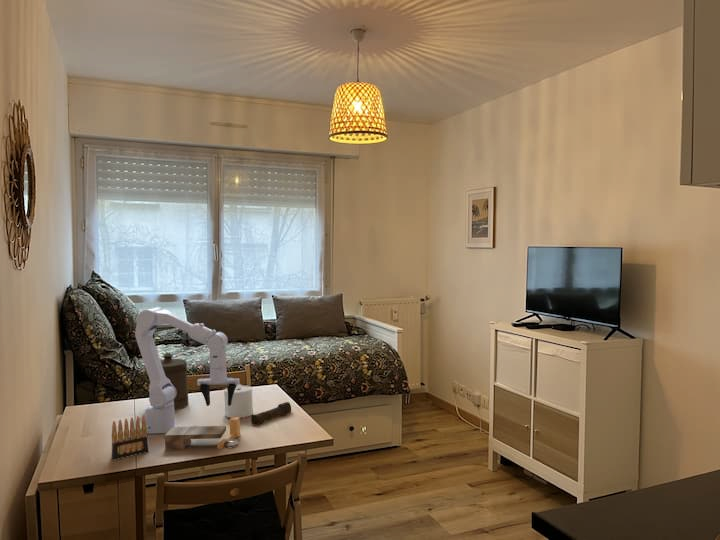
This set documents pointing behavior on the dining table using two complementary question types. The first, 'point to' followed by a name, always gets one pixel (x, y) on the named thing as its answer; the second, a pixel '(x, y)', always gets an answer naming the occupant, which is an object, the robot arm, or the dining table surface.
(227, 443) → the steel puck
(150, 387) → the robot arm
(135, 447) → the ammunition clip
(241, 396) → the toilet tissue
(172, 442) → the walnut l-shaped block
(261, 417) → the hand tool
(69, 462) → the dining table surface
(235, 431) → the light wooden mallet
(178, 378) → the wooden container
